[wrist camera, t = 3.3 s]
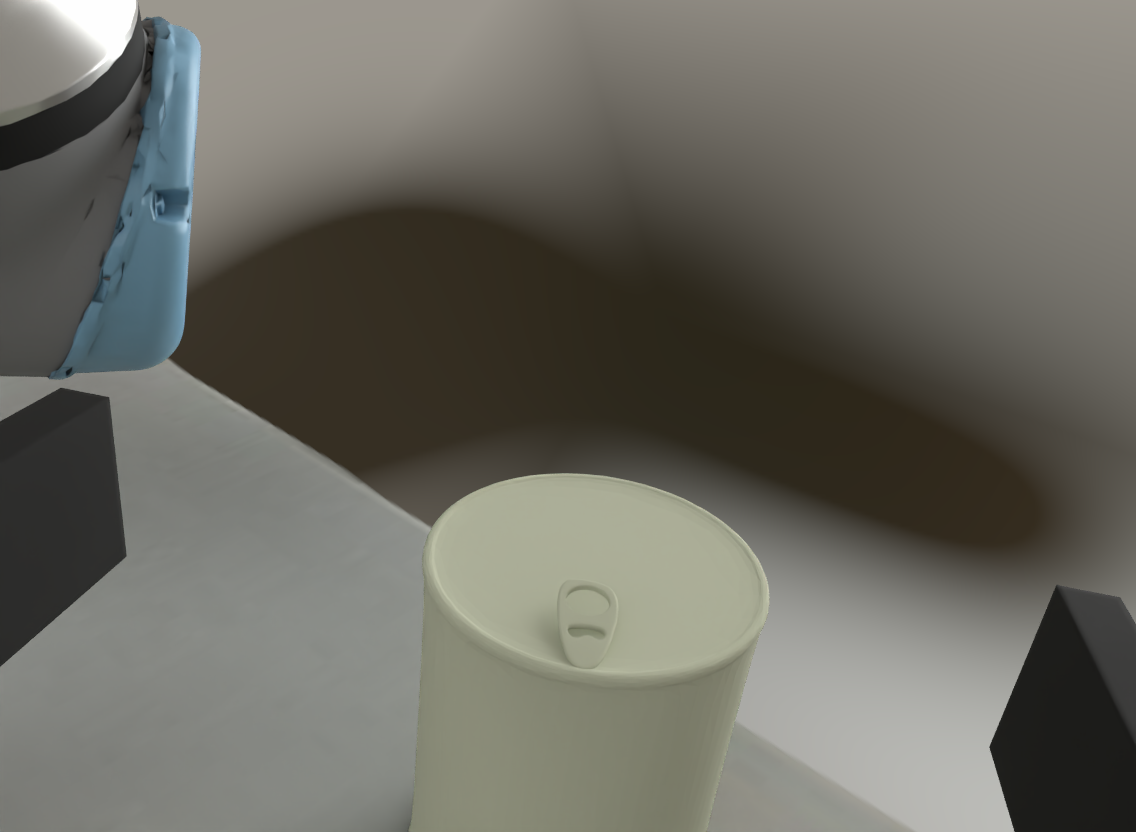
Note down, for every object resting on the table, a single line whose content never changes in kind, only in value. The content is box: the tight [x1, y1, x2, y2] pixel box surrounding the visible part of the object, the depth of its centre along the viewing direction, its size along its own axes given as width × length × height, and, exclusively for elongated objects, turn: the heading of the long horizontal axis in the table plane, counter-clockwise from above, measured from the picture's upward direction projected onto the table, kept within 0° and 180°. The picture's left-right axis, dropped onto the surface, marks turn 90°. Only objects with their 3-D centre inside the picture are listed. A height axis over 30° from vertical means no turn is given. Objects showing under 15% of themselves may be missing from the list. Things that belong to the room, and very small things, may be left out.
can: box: [408, 473, 770, 832], centre depth 27 cm, size 9×9×12 cm
